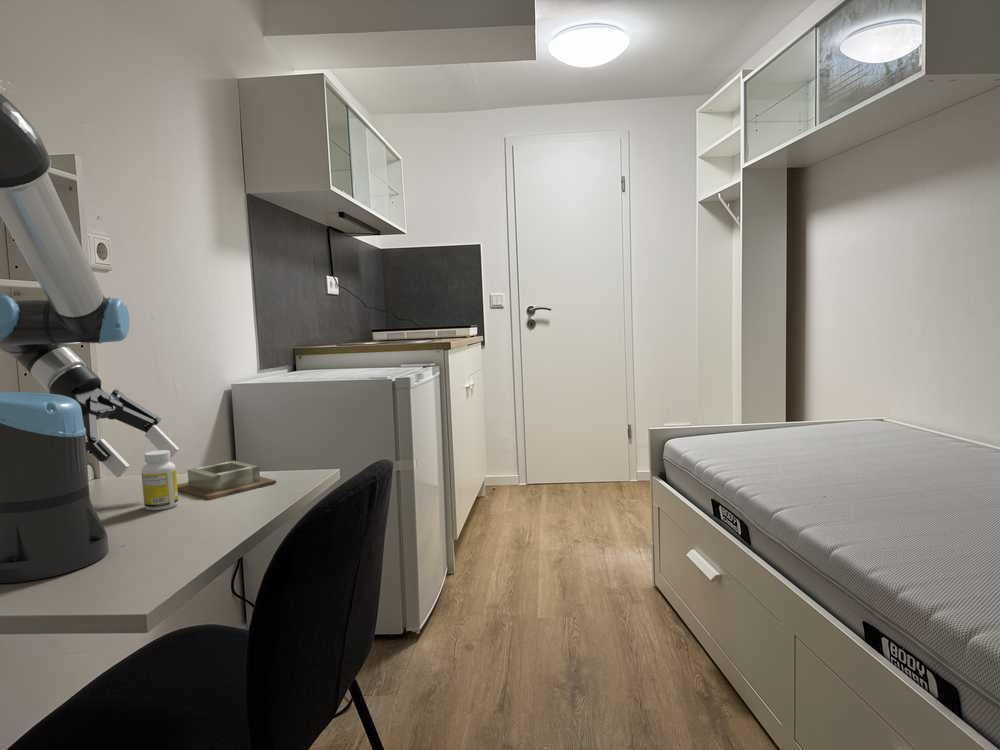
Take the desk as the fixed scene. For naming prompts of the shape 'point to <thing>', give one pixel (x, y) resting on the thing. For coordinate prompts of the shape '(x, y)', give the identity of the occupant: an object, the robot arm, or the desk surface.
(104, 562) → the desk surface
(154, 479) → the supplement bottle
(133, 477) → the desk surface
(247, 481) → the socket board
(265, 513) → the desk surface
